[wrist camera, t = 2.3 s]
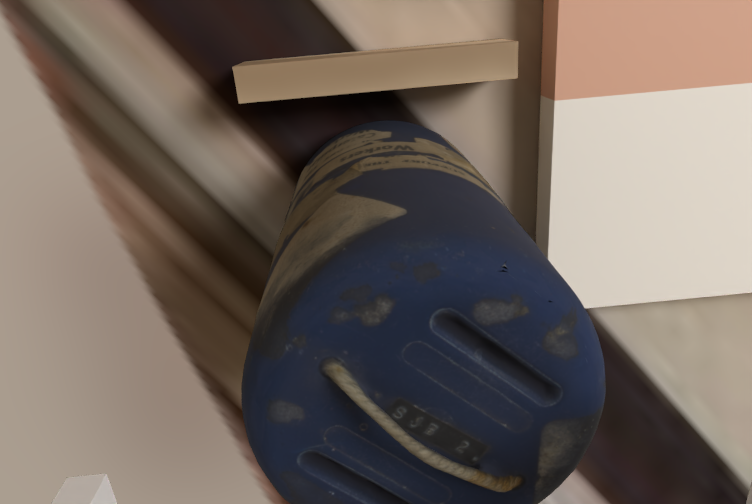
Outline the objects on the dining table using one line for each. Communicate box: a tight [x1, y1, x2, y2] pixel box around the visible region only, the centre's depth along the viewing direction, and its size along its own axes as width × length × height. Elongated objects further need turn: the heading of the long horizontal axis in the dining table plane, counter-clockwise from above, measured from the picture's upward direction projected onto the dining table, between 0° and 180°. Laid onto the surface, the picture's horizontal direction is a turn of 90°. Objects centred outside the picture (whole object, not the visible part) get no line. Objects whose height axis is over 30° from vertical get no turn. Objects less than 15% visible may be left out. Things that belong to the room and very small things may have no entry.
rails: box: [232, 39, 518, 104], centre depth 28 cm, size 16×12×3 cm
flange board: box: [536, 0, 752, 308], centre depth 25 cm, size 22×16×6 cm
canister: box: [242, 121, 605, 504], centre depth 21 cm, size 10×10×18 cm
